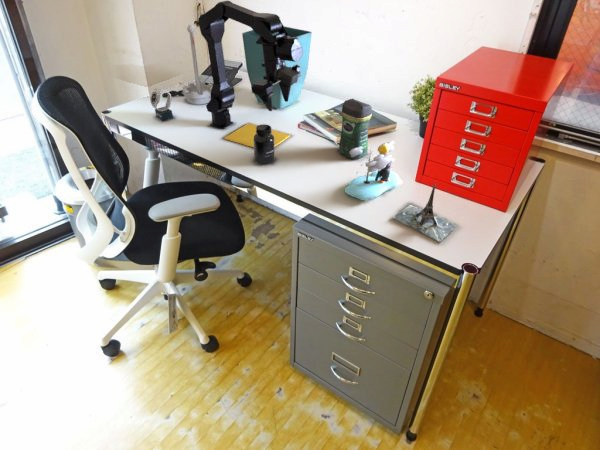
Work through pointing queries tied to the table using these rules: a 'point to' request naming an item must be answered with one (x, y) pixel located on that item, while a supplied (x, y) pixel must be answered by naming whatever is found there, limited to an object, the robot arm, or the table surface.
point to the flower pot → (256, 58)
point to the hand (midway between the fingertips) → (278, 106)
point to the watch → (161, 112)
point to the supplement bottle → (263, 145)
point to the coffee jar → (354, 127)
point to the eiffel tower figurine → (426, 220)
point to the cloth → (247, 135)
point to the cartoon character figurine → (374, 175)
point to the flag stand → (200, 90)
